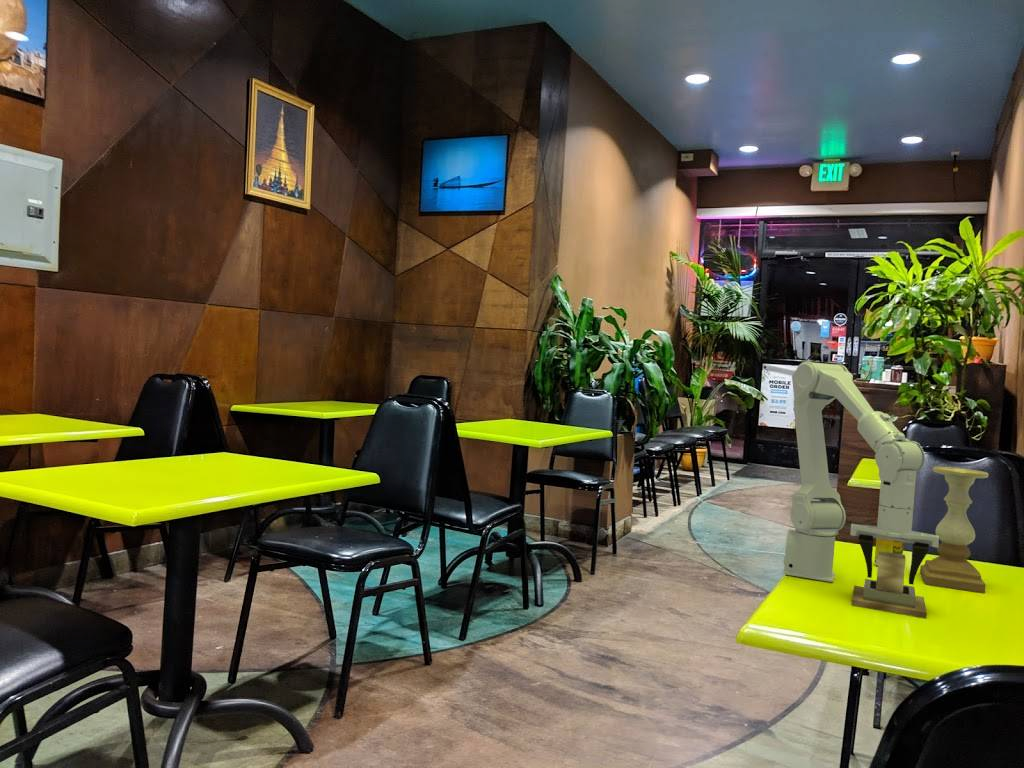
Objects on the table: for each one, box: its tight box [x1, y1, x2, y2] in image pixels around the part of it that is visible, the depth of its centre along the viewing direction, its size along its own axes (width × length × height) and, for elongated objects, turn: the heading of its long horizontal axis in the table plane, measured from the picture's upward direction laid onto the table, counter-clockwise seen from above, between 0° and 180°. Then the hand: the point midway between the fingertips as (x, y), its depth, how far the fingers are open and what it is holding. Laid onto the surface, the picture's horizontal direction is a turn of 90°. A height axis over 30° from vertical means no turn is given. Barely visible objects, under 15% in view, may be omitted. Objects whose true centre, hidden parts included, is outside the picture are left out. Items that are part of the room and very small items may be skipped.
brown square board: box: [851, 585, 928, 619], centre depth 145 cm, size 12×12×1 cm
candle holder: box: [919, 466, 989, 594], centre depth 165 cm, size 11×11×24 cm
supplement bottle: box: [874, 535, 905, 567], centre depth 177 cm, size 6×6×10 cm
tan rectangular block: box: [876, 551, 907, 594], centre depth 145 cm, size 4×4×8 cm
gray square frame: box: [863, 578, 917, 608], centre depth 145 cm, size 8×8×2 cm
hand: (890, 579), depth 145 cm, fingers open, 6 cm apart
